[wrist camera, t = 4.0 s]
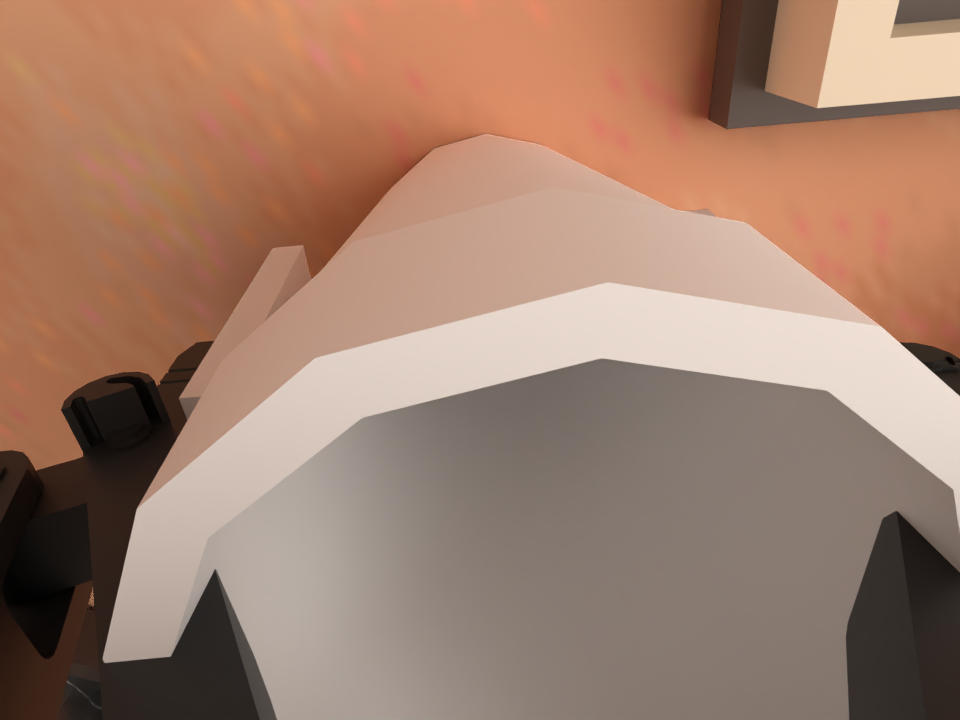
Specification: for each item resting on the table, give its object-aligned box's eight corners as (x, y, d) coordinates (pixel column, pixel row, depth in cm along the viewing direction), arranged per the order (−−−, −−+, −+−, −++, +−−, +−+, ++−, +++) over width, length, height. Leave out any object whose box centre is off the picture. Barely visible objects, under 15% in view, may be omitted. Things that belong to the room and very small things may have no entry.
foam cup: (392, -2, 14) (243, 41, 3) (716, 159, 17) (1255, 494, 6) (284, 330, 19) (63, 831, 8) (554, 421, 21) (684, 905, 10)
